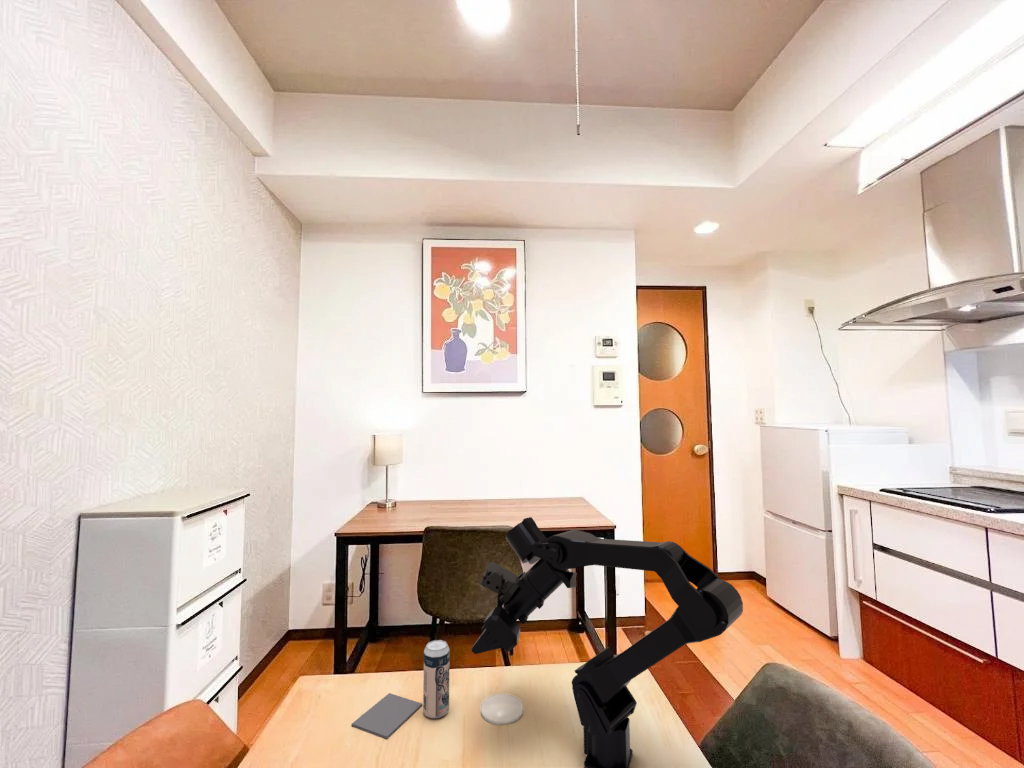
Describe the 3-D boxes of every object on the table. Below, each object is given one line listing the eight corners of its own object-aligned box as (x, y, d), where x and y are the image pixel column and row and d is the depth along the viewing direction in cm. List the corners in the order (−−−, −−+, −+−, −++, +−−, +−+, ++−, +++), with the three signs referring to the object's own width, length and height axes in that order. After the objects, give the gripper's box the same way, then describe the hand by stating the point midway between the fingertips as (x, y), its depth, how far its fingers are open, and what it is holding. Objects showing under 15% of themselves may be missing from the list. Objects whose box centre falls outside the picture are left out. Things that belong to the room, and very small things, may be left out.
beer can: (443, 722, 80) (444, 652, 81) (418, 718, 81) (419, 650, 82) (452, 705, 85) (453, 640, 86) (428, 702, 86) (429, 637, 87)
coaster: (529, 704, 86) (529, 699, 86) (512, 730, 78) (512, 725, 78) (492, 693, 89) (492, 689, 89) (472, 717, 82) (472, 712, 82)
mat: (422, 705, 85) (422, 703, 85) (387, 739, 76) (387, 736, 76) (389, 695, 88) (389, 693, 89) (351, 726, 79) (351, 723, 80)
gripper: (515, 537, 93) (463, 588, 94) (497, 566, 74) (432, 629, 75) (553, 579, 91) (499, 630, 92) (544, 619, 72) (477, 683, 73)
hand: (478, 641), depth 83 cm, fingers open, 7 cm apart
